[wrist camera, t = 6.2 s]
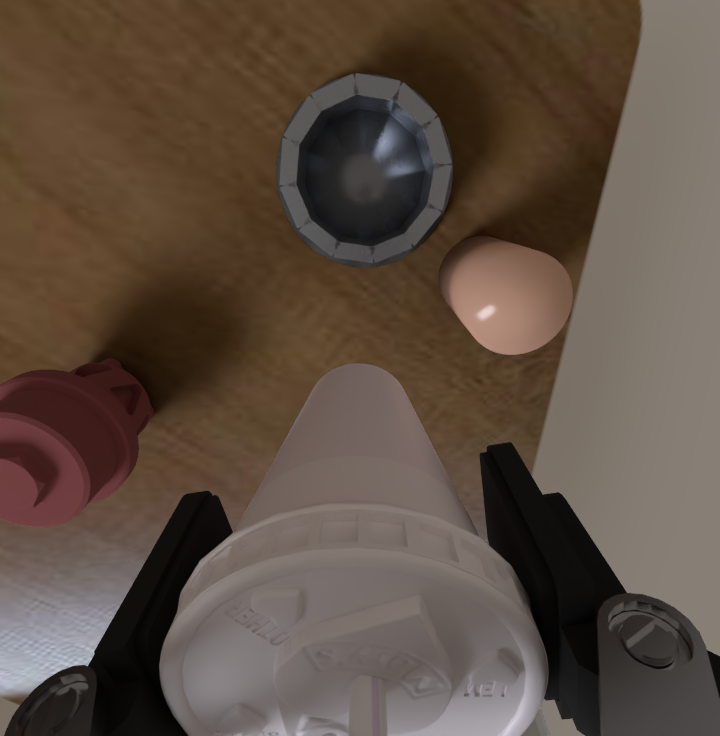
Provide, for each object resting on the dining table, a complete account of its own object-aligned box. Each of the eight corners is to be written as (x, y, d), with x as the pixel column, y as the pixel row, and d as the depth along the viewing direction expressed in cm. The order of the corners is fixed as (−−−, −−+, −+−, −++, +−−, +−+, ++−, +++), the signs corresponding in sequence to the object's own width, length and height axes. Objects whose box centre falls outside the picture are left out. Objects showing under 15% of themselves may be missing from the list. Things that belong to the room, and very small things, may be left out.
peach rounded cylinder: (534, 270, 32) (595, 295, 24) (478, 330, 34) (517, 373, 26) (477, 217, 31) (519, 225, 22) (422, 283, 33) (442, 313, 24)
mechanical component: (69, 441, 38) (45, 334, 34) (182, 447, 38) (171, 341, 34) (-57, 547, 27) (-114, 402, 23) (105, 555, 27) (75, 413, 23)
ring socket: (486, 162, 29) (509, 156, 25) (376, 297, 33) (379, 313, 29) (349, 31, 27) (346, -3, 22) (245, 193, 30) (225, 193, 26)
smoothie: (477, 368, 15) (1138, 1414, 2) (399, 500, 17) (505, 1389, 5) (307, 297, 14) (-241, 1422, 1) (249, 447, 16) (-157, 1386, 4)
